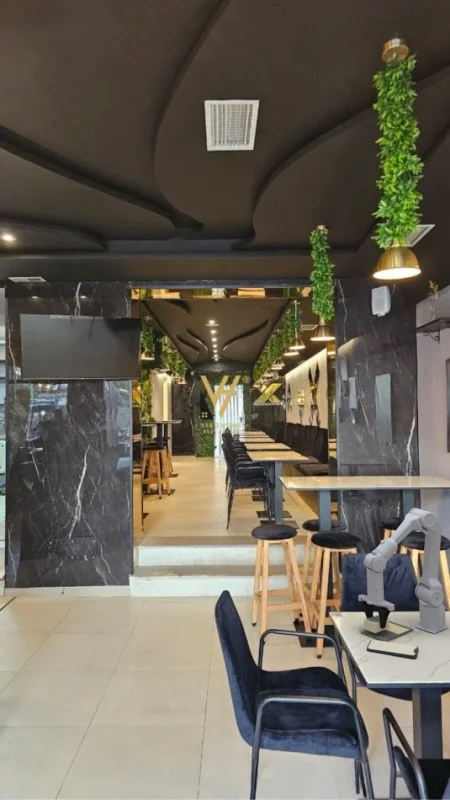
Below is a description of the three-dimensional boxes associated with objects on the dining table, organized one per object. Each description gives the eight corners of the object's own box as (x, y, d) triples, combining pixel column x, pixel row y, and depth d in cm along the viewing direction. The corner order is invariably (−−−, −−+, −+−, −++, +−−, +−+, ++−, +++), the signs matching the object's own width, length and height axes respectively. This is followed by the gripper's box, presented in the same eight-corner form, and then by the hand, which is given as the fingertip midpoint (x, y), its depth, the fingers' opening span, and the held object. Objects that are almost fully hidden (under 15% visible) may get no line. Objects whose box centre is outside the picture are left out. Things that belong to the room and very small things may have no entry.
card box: (378, 623, 194) (377, 614, 194) (389, 627, 190) (389, 618, 190) (364, 628, 189) (363, 619, 189) (375, 633, 185) (375, 623, 185)
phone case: (366, 653, 175) (416, 661, 168) (365, 648, 175) (415, 656, 168) (371, 643, 183) (419, 650, 176) (370, 638, 183) (418, 645, 176)
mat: (389, 622, 200) (389, 620, 200) (413, 630, 192) (413, 628, 192) (360, 633, 190) (360, 631, 190) (384, 642, 182) (384, 640, 182)
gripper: (352, 585, 194) (353, 622, 193) (385, 594, 182) (386, 634, 181) (364, 581, 198) (365, 617, 197) (397, 590, 186) (398, 629, 186)
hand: (376, 625), depth 190 cm, fingers closed on card box, 5 cm apart
